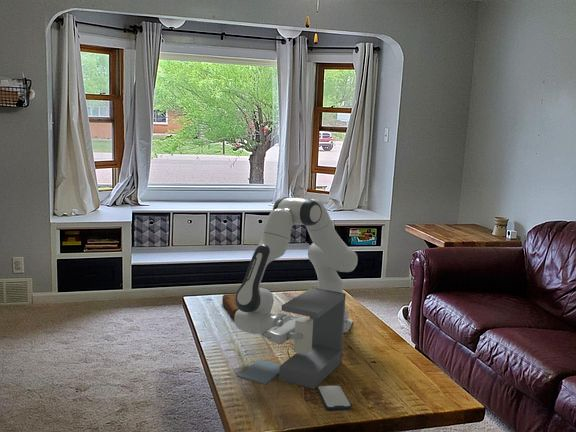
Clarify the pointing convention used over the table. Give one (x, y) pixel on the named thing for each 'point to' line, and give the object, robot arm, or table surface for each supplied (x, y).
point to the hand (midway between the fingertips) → (305, 334)
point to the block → (306, 329)
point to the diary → (230, 304)
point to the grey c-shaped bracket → (317, 337)
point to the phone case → (334, 398)
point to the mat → (260, 371)
